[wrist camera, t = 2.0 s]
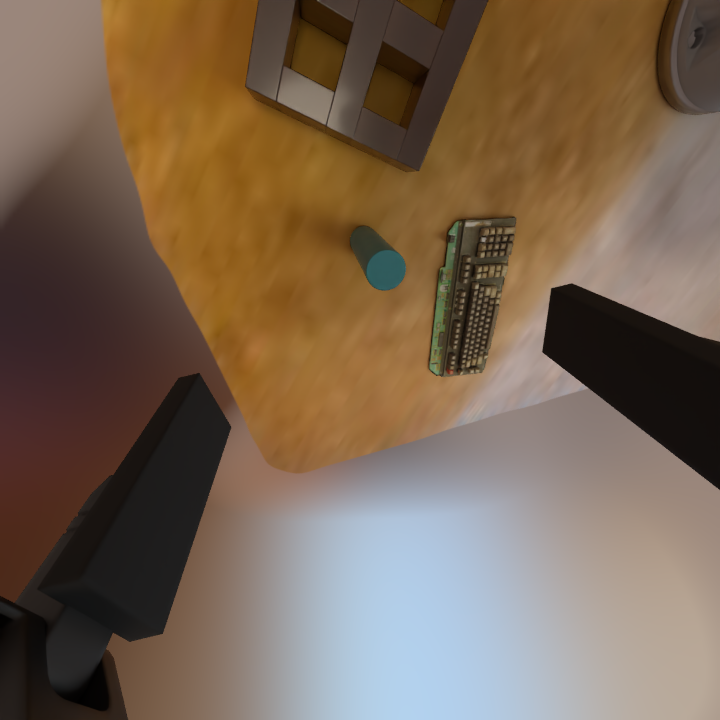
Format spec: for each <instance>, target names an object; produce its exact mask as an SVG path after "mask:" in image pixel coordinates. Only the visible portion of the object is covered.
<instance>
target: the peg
mask: <svg viewBox="0 0 720 720" xmlns="http://www.w3.org/2000/svg"><path fill="white" fill-rule="evenodd" d="M350 245H351V248H352V250H353V252H354V254H355V256H356V258H357V260H358V262H359V264H360V266H361V268H362V270H363V272H364V274H365V276H366V278H367V280H368V281H369V283H370V284H371V285H372V286H373V287H374V288H376V289H378V290H390V289H393V288H395V287H396V286H398V285H399V284H400V283H401V281H402V280H403V278H404V276H405V272H406V265H405V261H404V259H403V258H402V256H401V255H400V254H399V253H398V252H397V251H396V250H395V249H393V248H392V247H391V246H390V245H389V244H388V243H387V242H386V241H385V240H384V239H383V238H382V237H381V236H379V235H378V234H377V233H376V232H375V231H374V230H373V229H372V228H370V227H368V226H360V227H358V228H356V229H355V230H354V231H353V232H352V234H351V237H350Z"/></svg>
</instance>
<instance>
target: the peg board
mask: <svg viewBox="0 0 720 720" xmlns="http://www.w3.org/2000/svg"><path fill="white" fill-rule="evenodd" d="M487 2H488V0H444V2H443V5H442V7H441V10H440V13H439V16H438V19H437V22H436V24H435V25H434V24H432V23H431V22H429V21H428V20H426V19H425V18H423V17H422V16H420V15H418V14H417V13H415V12H414V11H412V10H411V9H409V8H408V7H406V6H405V5H403V4H402V3H400V2H399V1H397V0H259V1H258V7H257V14H256V20H255V26H254V33H253V39H252V46H251V52H250V59H249V65H248V72H247V78H246V84H245V87H246V88H247V89H248V91H249V92H250V93H251V95H252V96H253V97H254V98H255V99H256V100H258V101H260V102H262V103H264V104H266V105H268V106H270V107H272V108H274V109H276V110H279V111H281V112H283V113H285V114H287V115H289V116H291V117H293V118H295V119H297V120H299V121H301V122H304V123H306V124H308V125H310V126H312V127H314V128H316V129H318V130H320V131H322V132H325V133H326V134H328V135H330V136H333V137H335V138H337V139H339V140H341V141H343V142H345V143H347V144H349V145H351V146H353V147H355V148H358V149H360V150H362V151H364V152H366V153H368V154H370V155H372V156H374V157H376V158H378V159H380V160H382V161H385V162H387V163H389V164H391V165H393V166H395V167H397V168H399V169H401V170H403V171H405V172H415V171H419V170H420V168H421V165H422V163H423V160H424V158H425V155H426V153H427V151H428V148H429V146H430V143H431V141H432V138H433V136H434V133H435V131H436V128H437V126H438V123H439V121H440V118H441V116H442V113H443V111H444V108H445V106H446V104H447V101H448V99H449V96H450V94H451V91H452V89H453V86H454V84H455V81H456V79H457V76H458V74H459V71H460V69H461V66H462V64H463V61H464V59H465V57H466V54H467V52H468V49H469V47H470V44H471V42H472V39H473V37H474V34H475V32H476V29H477V27H478V24H479V22H480V19H481V17H482V14H483V12H484V9H485V7H486V5H487ZM300 16H301V18H302V19H304V20H306V21H308V22H309V23H311V24H313V25H314V26H316V27H318V28H320V29H321V30H323V31H325V32H327V33H328V34H330V35H332V36H333V37H335V38H337V39H339V40H340V41H342V42H344V43H345V44H348V45H347V49H346V53H345V57H344V60H343V64H342V68H341V72H340V76H339V79H338V83H337V87H336V91H335V92H334V91H332V90H330V89H328V88H327V87H325V86H323V85H321V84H319V83H317V82H315V81H313V80H311V79H309V78H308V77H306V76H304V75H302V74H300V73H298V72H296V71H294V70H292V69H290V65H291V60H292V56H293V51H294V46H295V41H296V36H297V31H298V26H299V21H300ZM376 62H378V63H380V64H381V65H383V66H385V67H387V68H388V69H390V70H392V71H394V72H395V73H397V74H399V75H400V76H402V77H404V78H406V79H407V80H409V81H411V82H412V83H414V86H413V89H412V92H411V94H410V97H409V100H408V103H407V106H406V109H405V111H404V114H403V117H402V120H401V123H400V125H397V124H395V123H393V122H391V121H390V120H388V119H386V118H384V117H382V116H380V115H378V114H376V113H374V112H372V111H371V110H369V109H367V108H365V107H363V103H364V100H365V97H366V94H367V90H368V87H369V84H370V80H371V77H372V74H373V70H374V67H375V64H376Z"/></svg>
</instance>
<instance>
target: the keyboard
mask: <svg viewBox="0 0 720 720" xmlns="http://www.w3.org/2000/svg"><path fill="white" fill-rule="evenodd" d="M515 224H516V218H515V217H512V218H495V219H477V220H460V221H456V223H455V224H454V225H453V227H452V228H451V229H450V231H449V232H448V233H447V248H446V249H447V250H446V258H445V267H442V268H441V269H440V270H439V278H438V289H437V297H436V304H435V316H434V325H433V333H432V341H431V351H430V359H429V361H430V363H429V370H431V372H432V373H434V374H435V375H436V376H437V375H440V376H441V377H442V376H443V377H449V376H457V375H466V374H476V373H482V372H483V370H484V368H485V363H486V359H487V357H488V350H489V349H490V346H491V341H492V337H493V332H494V328H495V324H496V320H497V315H498V311H499V303H500V297H501V292H502V286H503V284H504V279H505V278H504V276H506V273H507V269H508V264H507V262H508V261H509V260H508V257H509V255H511V252H512V247H513V242H512V241H513V240H514V233H515V230H516V227H515Z"/></svg>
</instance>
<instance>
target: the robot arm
mask: <svg viewBox="0 0 720 720" xmlns="http://www.w3.org/2000/svg"><path fill="white" fill-rule="evenodd" d="M658 76H659V82H660V86H661V89H662V92H663V94H664V96H665V98H666V99H667V101H668V102H669V103H670V105H672V106H673V107H674V108H675V109H677V110H678V111H680V112H683V113H685V114H690V115H701V114H708V113H714V112H720V0H671V2H670V5H669V7H668V10H667V13H666V17H665V20H664V23H663V27H662V31H661V36H660V42H659V49H658ZM542 352H543V353H544V354H545V355H547V356H548V357H549V358H551V359H552V360H553V361H554V362H556V363H557V364H558V365H560V366H561V367H562V368H563V369H565V370H566V371H567V372H569V373H570V374H571V375H572V376H574V377H575V378H576V379H578V380H579V381H580V382H581V383H583V384H584V385H585V386H587V387H588V388H589V389H591V390H592V391H593V392H594V393H596V394H597V395H598V396H600V397H601V398H602V399H603V400H605V401H606V402H607V403H609V404H610V405H611V406H612V407H614V408H615V409H616V410H618V411H619V412H620V413H621V414H623V415H624V416H626V417H627V418H628V419H629V420H631V421H632V422H633V423H634V424H636V425H637V426H638V427H639V428H641V429H642V430H643V431H645V432H646V433H647V434H649V435H650V436H651V437H652V438H654V439H655V440H656V441H657V442H659V443H660V444H661V445H663V446H664V447H665V448H666V449H668V450H669V451H670V452H672V453H673V454H674V455H675V456H677V457H678V458H679V459H681V460H682V461H683V462H684V463H686V464H687V465H689V466H690V467H691V468H692V469H694V470H695V471H696V472H697V473H699V474H700V475H701V476H703V477H704V478H705V479H706V480H708V481H709V482H710V483H712V484H713V485H714V486H716V487H717V488H718V489H719V490H720V342H719V341H715V340H711V339H706V338H702V337H698V336H696V335H693V334H691V333H689V332H686V331H684V330H681V329H679V328H677V327H674V326H672V325H670V324H667V323H665V322H662V321H660V320H658V319H655V318H653V317H651V316H648V315H646V314H643V313H641V312H639V311H636V310H634V309H631V308H629V307H627V306H624V305H622V304H620V303H617V302H615V301H612V300H610V299H608V298H605V297H603V296H601V295H598V294H596V293H593V292H591V291H589V290H586V289H584V288H582V287H579V286H577V285H574V284H568V285H563V286H559V287H555V288H551V295H550V302H549V309H548V316H547V323H546V330H545V337H544V344H543V351H542ZM230 430H231V426H230V424H229V422H228V421H227V419H226V417H225V415H224V414H223V412H222V411H221V409H220V407H219V405H218V404H217V402H216V400H215V399H214V397H213V395H212V394H211V392H210V390H209V388H208V387H207V385H206V383H205V382H204V380H203V378H202V377H201V375H200V373H197V374H193V375H189V376H185V377H180V378H178V380H177V381H176V383H175V384H174V386H173V387H172V389H171V390H170V392H169V393H168V395H167V396H166V398H165V399H164V401H163V402H162V404H161V405H160V407H159V408H158V409H157V411H156V412H155V414H154V415H153V417H152V418H151V420H150V421H149V423H148V424H147V426H146V427H145V429H144V430H143V432H142V433H141V435H140V436H139V438H138V439H137V441H136V442H135V444H134V445H133V447H132V448H131V450H130V451H129V453H128V454H127V456H126V457H125V459H124V460H123V461H122V463H121V464H120V466H119V467H118V469H117V470H116V472H115V473H114V475H111V476H109V477H108V478H107V479H106V480H105V481H104V482H103V483H102V484H101V485H100V486H99V487H98V488H97V489H96V490H95V491H94V492H93V493H92V494H91V495H90V497H89V498H88V499H87V501H86V502H85V504H84V505H83V506H82V508H81V509H80V511H79V512H78V516H77V517H75V518H74V519H73V521H72V522H71V524H70V525H69V526H68V528H67V532H66V533H65V534H63V535H62V536H61V538H60V539H59V541H58V542H57V543H56V545H55V547H54V548H53V549H52V551H51V552H50V553H49V555H48V556H47V558H46V559H45V560H44V562H43V563H42V565H41V566H40V568H39V569H38V571H37V572H36V573H35V575H34V576H33V578H32V579H31V580H30V582H29V583H28V585H27V586H26V588H25V589H24V590H23V592H22V593H21V595H20V596H19V598H18V599H17V600H16V602H15V603H13V602H11V601H9V600H7V599H5V598H3V597H1V596H0V720H128V718H127V714H126V709H125V705H124V700H123V696H122V692H121V687H120V683H119V679H118V675H117V670H116V666H115V661H114V658H113V656H112V655H111V653H110V652H109V651H108V650H106V647H107V645H108V643H109V640H110V638H111V636H112V633H115V634H117V635H119V636H120V637H122V638H124V639H126V640H127V641H129V642H131V641H135V640H138V639H143V638H147V637H151V636H155V635H159V634H163V631H164V628H165V625H166V622H167V619H168V616H169V613H170V610H171V607H172V604H173V601H174V598H175V595H176V592H177V589H178V586H179V583H180V580H181V577H182V574H183V571H184V568H185V565H186V562H187V559H188V556H189V553H190V550H191V547H192V544H193V541H194V538H195V535H196V532H197V529H198V525H199V522H200V519H201V517H202V514H203V511H204V508H205V505H206V502H207V499H208V496H209V493H210V490H211V487H212V484H213V481H214V478H215V475H216V472H217V469H218V466H219V463H220V460H221V457H222V453H223V451H224V448H225V445H226V442H227V438H228V436H229V432H230Z"/></svg>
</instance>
